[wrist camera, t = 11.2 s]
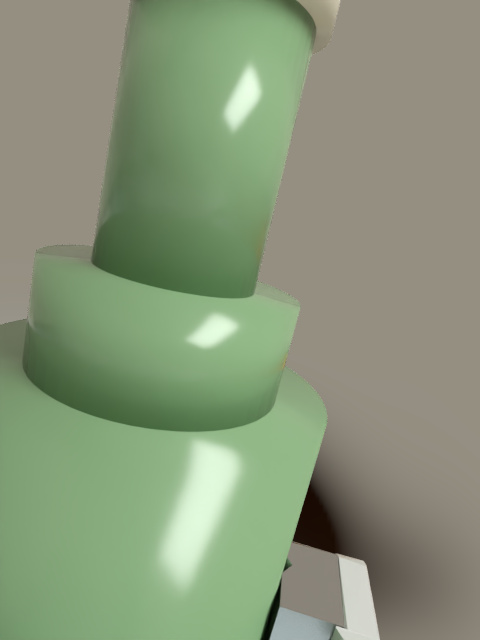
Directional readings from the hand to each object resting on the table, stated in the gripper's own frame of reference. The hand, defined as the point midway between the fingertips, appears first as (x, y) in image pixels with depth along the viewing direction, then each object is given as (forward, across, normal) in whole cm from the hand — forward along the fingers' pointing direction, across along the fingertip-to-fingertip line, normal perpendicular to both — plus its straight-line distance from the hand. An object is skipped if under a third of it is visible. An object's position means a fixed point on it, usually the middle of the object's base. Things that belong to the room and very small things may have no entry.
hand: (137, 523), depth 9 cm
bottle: (-1, 0, +8) cm, 9 cm away
